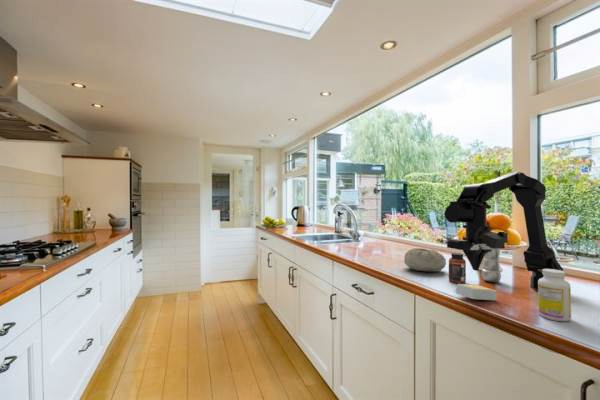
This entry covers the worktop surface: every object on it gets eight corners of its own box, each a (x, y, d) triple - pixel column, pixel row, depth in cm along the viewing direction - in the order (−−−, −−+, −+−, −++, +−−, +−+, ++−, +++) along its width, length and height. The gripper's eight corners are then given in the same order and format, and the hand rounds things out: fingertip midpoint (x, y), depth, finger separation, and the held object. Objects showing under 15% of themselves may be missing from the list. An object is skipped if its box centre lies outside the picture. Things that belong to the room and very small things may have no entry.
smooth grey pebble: (433, 266, 140) (433, 246, 140) (454, 275, 122) (454, 252, 122) (398, 266, 139) (398, 246, 139) (414, 275, 121) (414, 252, 121)
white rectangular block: (479, 285, 96) (457, 283, 93) (496, 290, 90) (473, 288, 87) (478, 294, 96) (456, 293, 93) (495, 300, 90) (472, 298, 87)
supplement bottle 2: (554, 312, 80) (554, 267, 80) (578, 322, 74) (577, 273, 74) (531, 312, 80) (531, 267, 80) (553, 322, 73) (553, 273, 74)
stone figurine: (480, 281, 112) (480, 231, 113) (483, 278, 117) (483, 230, 118) (499, 284, 108) (499, 233, 108) (502, 281, 113) (502, 231, 113)
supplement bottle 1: (468, 284, 108) (468, 255, 108) (451, 283, 109) (451, 254, 109) (462, 280, 114) (462, 252, 114) (446, 279, 115) (446, 251, 115)
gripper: (476, 224, 81) (476, 278, 81) (522, 223, 87) (522, 274, 87) (445, 222, 92) (445, 269, 91) (488, 221, 98) (487, 266, 97)
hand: (475, 270), depth 91 cm, fingers closed
